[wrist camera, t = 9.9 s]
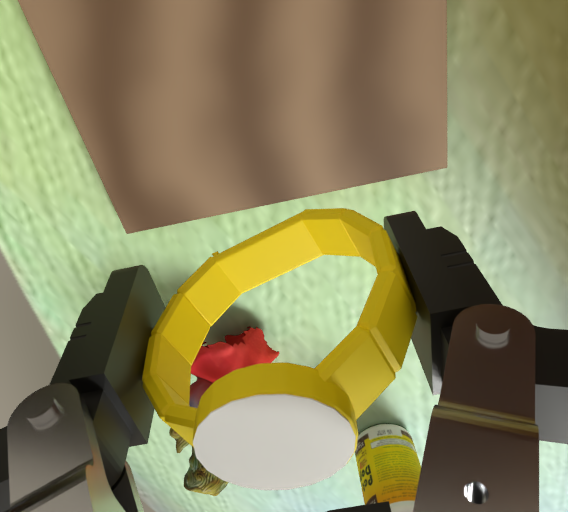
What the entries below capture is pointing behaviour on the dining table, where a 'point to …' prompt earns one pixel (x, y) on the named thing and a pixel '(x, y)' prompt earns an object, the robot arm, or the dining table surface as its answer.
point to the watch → (281, 376)
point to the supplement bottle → (388, 466)
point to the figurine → (208, 369)
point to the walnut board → (247, 97)
